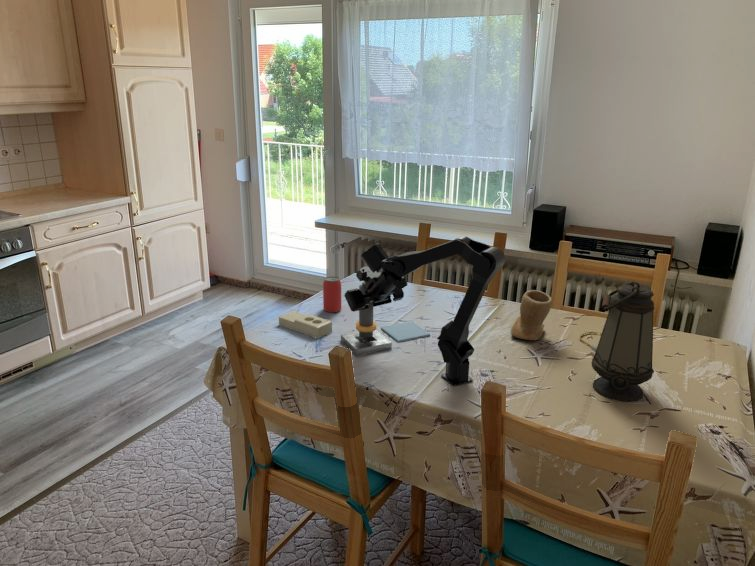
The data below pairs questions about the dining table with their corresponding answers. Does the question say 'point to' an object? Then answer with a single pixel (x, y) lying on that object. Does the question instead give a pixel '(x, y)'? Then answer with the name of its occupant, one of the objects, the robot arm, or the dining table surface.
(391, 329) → the mat
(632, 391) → the lantern
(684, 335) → the dining table surface
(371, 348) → the socket block
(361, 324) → the plug
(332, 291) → the beer can
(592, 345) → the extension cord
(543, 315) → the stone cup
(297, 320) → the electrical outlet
